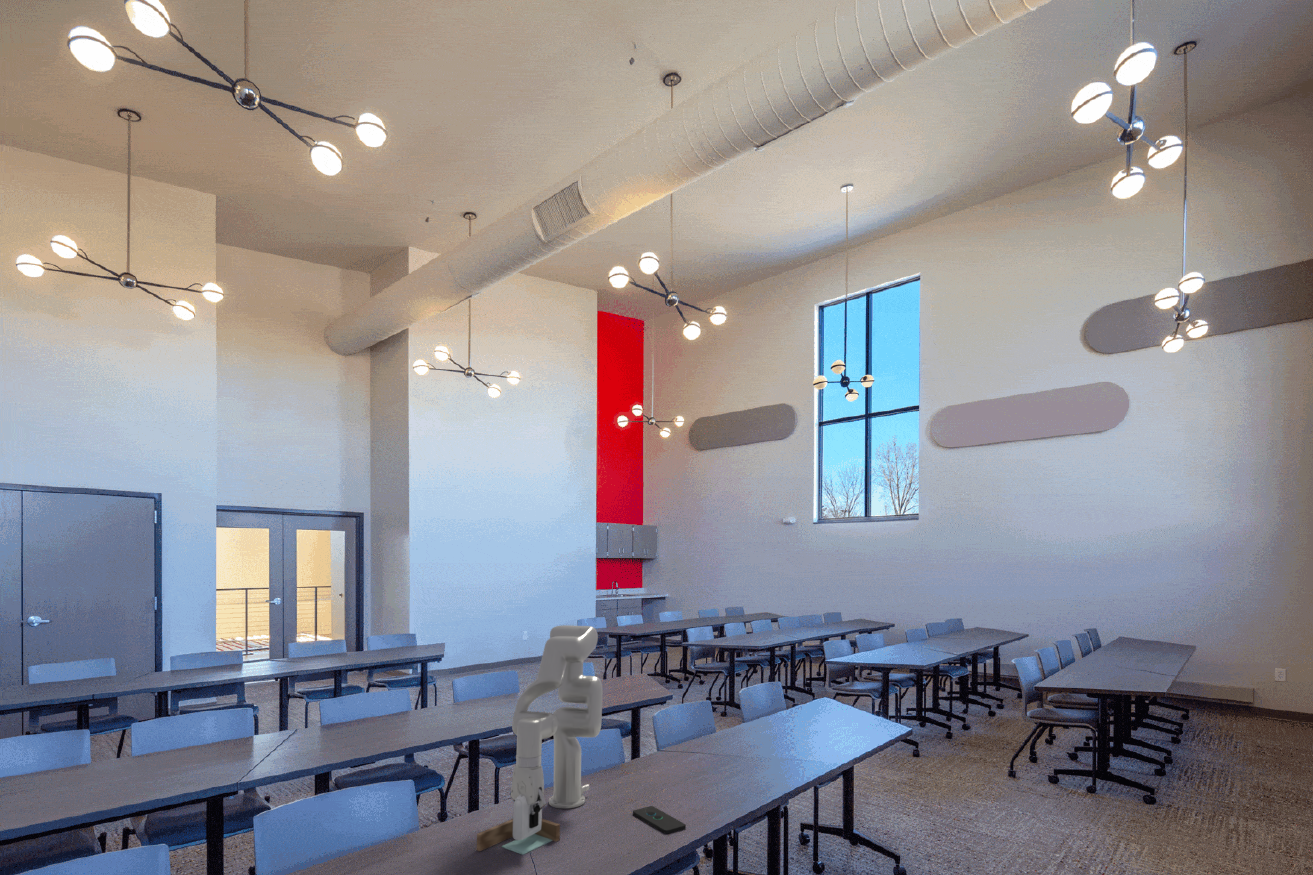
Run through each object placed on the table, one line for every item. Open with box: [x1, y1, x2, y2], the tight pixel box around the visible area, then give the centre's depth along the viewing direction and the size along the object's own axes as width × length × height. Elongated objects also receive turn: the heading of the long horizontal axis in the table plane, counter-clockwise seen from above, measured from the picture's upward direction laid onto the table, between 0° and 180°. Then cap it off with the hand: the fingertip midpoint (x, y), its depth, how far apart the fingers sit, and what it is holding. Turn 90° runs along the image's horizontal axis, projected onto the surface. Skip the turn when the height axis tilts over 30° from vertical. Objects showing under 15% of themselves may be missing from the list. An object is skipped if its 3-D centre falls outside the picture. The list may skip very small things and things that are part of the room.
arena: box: [476, 818, 561, 852], centre depth 214 cm, size 20×15×4 cm
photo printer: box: [512, 795, 543, 840], centre depth 216 cm, size 10×4×12 cm, turn 150°
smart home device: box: [632, 805, 687, 835], centre depth 231 cm, size 8×2×20 cm
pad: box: [501, 834, 553, 856], centre depth 214 cm, size 12×9×1 cm
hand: (527, 823), depth 215 cm, fingers closed on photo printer, 4 cm apart
